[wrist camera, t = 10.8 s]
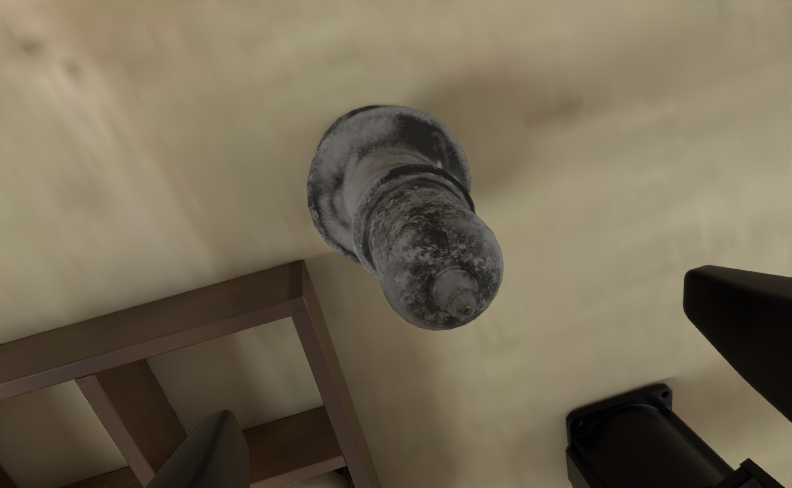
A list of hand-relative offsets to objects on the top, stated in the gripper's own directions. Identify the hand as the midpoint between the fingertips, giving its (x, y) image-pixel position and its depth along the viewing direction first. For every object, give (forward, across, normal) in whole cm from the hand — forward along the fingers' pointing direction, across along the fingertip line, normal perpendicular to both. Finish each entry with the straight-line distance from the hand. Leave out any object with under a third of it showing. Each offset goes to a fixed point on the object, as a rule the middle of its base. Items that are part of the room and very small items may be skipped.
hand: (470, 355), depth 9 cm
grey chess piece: (+12, 0, -1) cm, 12 cm away
